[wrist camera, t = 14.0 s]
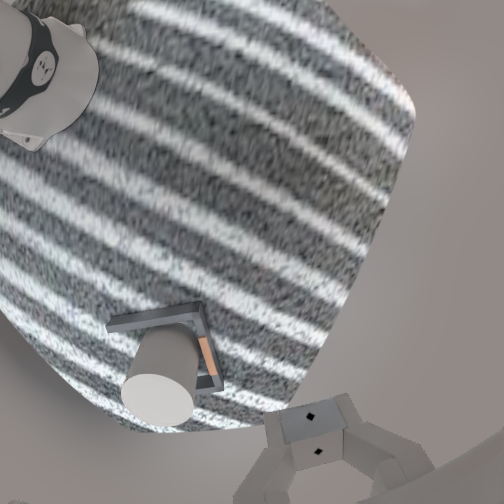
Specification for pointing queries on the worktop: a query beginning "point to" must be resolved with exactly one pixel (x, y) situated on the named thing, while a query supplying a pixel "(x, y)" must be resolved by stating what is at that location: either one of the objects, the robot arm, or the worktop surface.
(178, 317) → the bracket
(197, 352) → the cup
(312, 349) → the worktop surface
